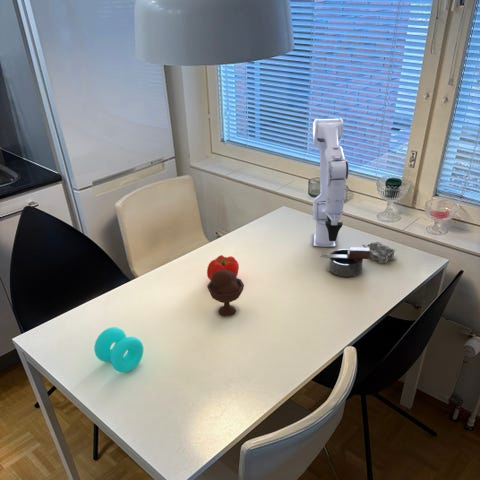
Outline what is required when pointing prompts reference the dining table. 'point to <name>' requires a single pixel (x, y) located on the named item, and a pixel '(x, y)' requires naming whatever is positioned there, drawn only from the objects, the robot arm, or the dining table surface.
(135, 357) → the donuts
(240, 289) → the ice cream bowl
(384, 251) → the egg carton
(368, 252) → the knife
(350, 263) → the bowl
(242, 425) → the dining table surface
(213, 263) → the tomato
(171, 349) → the dining table surface
